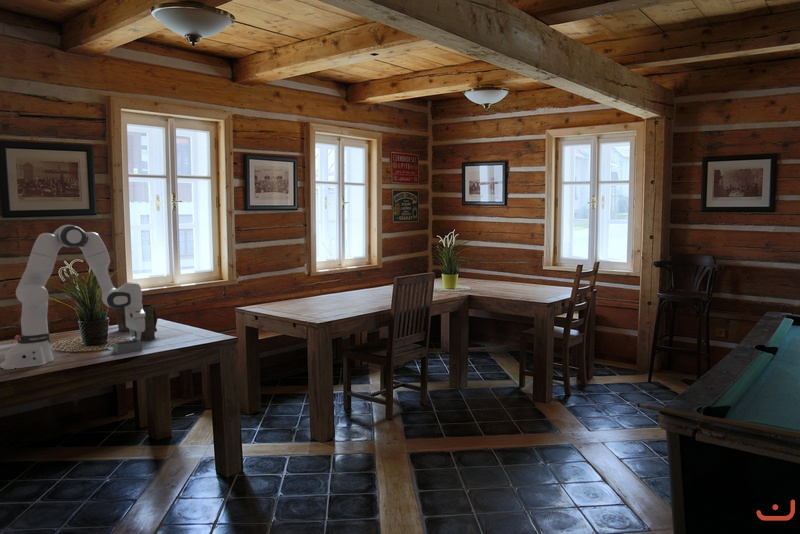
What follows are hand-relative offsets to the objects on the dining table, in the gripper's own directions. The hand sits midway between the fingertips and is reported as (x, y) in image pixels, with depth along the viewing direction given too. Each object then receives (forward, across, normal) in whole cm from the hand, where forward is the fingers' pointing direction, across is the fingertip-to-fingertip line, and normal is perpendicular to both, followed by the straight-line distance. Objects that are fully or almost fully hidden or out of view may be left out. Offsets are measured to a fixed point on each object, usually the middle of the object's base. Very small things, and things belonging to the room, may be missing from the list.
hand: (135, 337), depth 333 cm
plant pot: (+5, -48, +12) cm, 50 cm away
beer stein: (+5, -13, +10) cm, 17 cm away
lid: (+5, 0, -6) cm, 8 cm away
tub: (+5, +10, -8) cm, 13 cm away
